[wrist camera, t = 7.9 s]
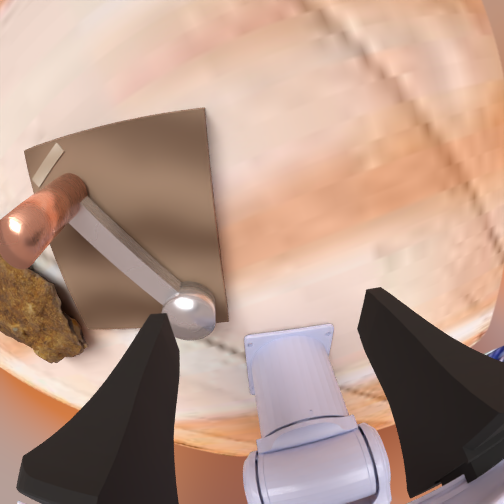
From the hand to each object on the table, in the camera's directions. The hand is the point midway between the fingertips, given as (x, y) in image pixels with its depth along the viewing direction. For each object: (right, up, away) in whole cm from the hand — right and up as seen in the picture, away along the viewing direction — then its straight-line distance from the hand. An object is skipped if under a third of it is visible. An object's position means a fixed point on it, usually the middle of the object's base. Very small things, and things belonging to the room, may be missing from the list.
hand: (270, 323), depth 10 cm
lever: (-8, +2, +8) cm, 12 cm away
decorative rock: (-21, -1, +11) cm, 24 cm away
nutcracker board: (-9, +4, +9) cm, 13 cm away
